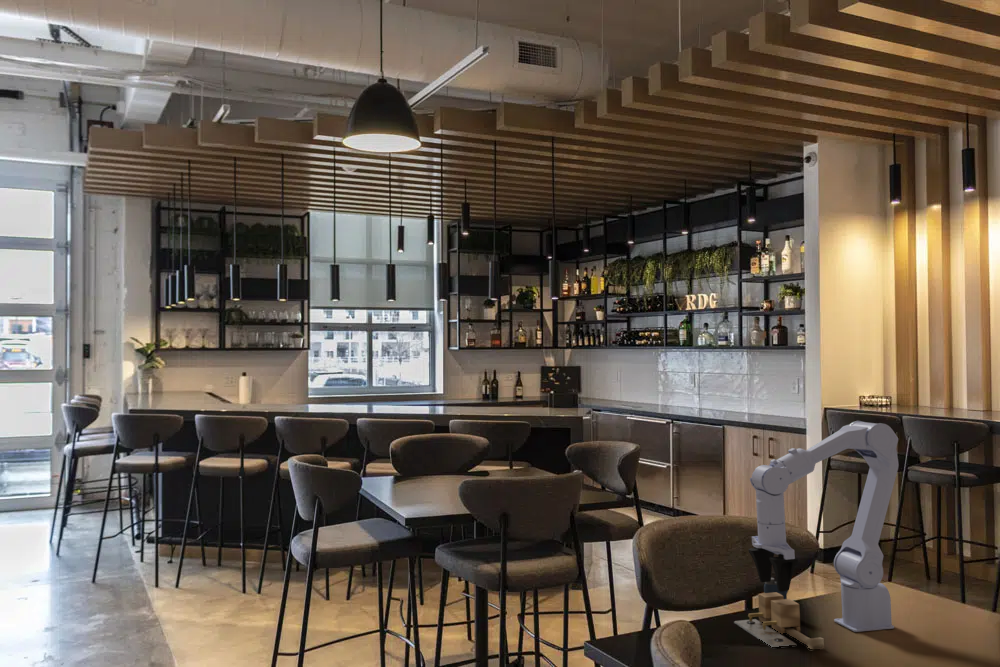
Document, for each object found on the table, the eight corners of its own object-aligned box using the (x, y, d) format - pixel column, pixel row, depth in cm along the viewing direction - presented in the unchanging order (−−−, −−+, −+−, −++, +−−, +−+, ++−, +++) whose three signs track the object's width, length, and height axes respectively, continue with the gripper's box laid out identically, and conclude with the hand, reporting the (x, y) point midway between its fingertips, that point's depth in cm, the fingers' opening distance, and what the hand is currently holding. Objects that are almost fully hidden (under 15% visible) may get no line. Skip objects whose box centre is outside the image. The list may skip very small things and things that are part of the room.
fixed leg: (777, 619, 185) (776, 592, 185) (784, 623, 182) (783, 595, 182) (746, 621, 183) (744, 594, 184) (752, 626, 181) (751, 598, 181)
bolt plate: (755, 621, 184) (755, 618, 184) (796, 646, 168) (796, 643, 168) (734, 622, 183) (733, 620, 183) (772, 648, 167) (772, 645, 167)
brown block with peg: (790, 626, 179) (789, 598, 180) (800, 632, 176) (799, 604, 176) (758, 629, 178) (757, 601, 178) (767, 635, 174) (766, 606, 174)
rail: (769, 616, 187) (768, 607, 187) (824, 649, 166) (823, 638, 166) (756, 617, 187) (756, 608, 187) (810, 650, 165) (810, 640, 165)
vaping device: (789, 616, 187) (787, 563, 187) (765, 615, 188) (763, 562, 188) (788, 613, 189) (786, 560, 190) (764, 612, 190) (762, 559, 191)
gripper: (738, 517, 184) (740, 579, 183) (771, 529, 169) (774, 596, 169) (767, 515, 185) (770, 576, 184) (802, 527, 171) (805, 593, 170)
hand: (774, 586), depth 177 cm, fingers open, 7 cm apart
